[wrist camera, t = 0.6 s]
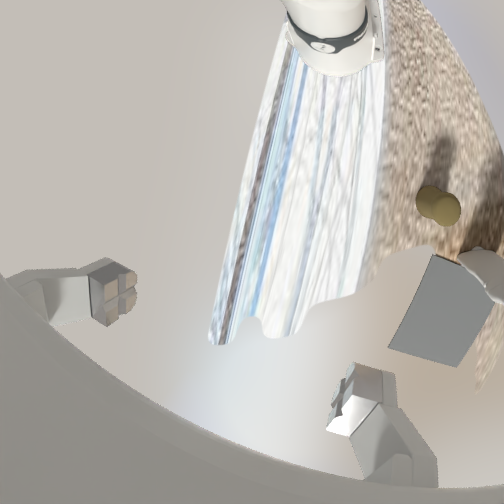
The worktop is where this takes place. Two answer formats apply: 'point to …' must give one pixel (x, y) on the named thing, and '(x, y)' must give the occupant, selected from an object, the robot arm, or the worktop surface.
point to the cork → (438, 205)
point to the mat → (443, 314)
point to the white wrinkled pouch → (486, 270)
